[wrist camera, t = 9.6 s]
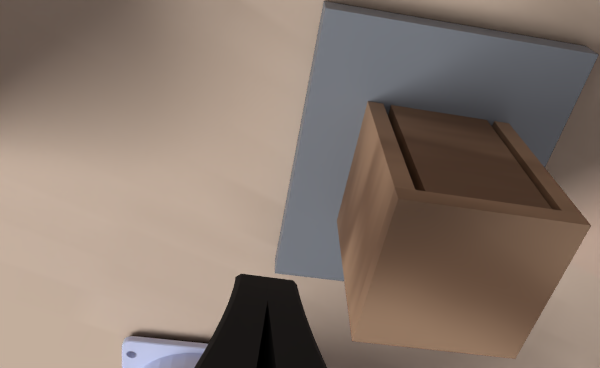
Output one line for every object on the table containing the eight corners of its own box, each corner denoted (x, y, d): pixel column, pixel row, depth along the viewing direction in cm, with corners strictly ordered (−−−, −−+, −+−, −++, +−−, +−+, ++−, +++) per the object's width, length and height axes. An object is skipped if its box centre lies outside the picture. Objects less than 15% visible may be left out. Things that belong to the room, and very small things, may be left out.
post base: (476, 283, 26) (512, 366, 22) (275, 258, 25) (272, 341, 21) (585, 46, 20) (664, 98, 16) (323, 0, 19) (334, 44, 15)
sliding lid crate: (461, 237, 23) (515, 358, 18) (336, 221, 23) (352, 341, 17) (509, 123, 21) (591, 225, 15) (367, 101, 20) (398, 199, 14)
